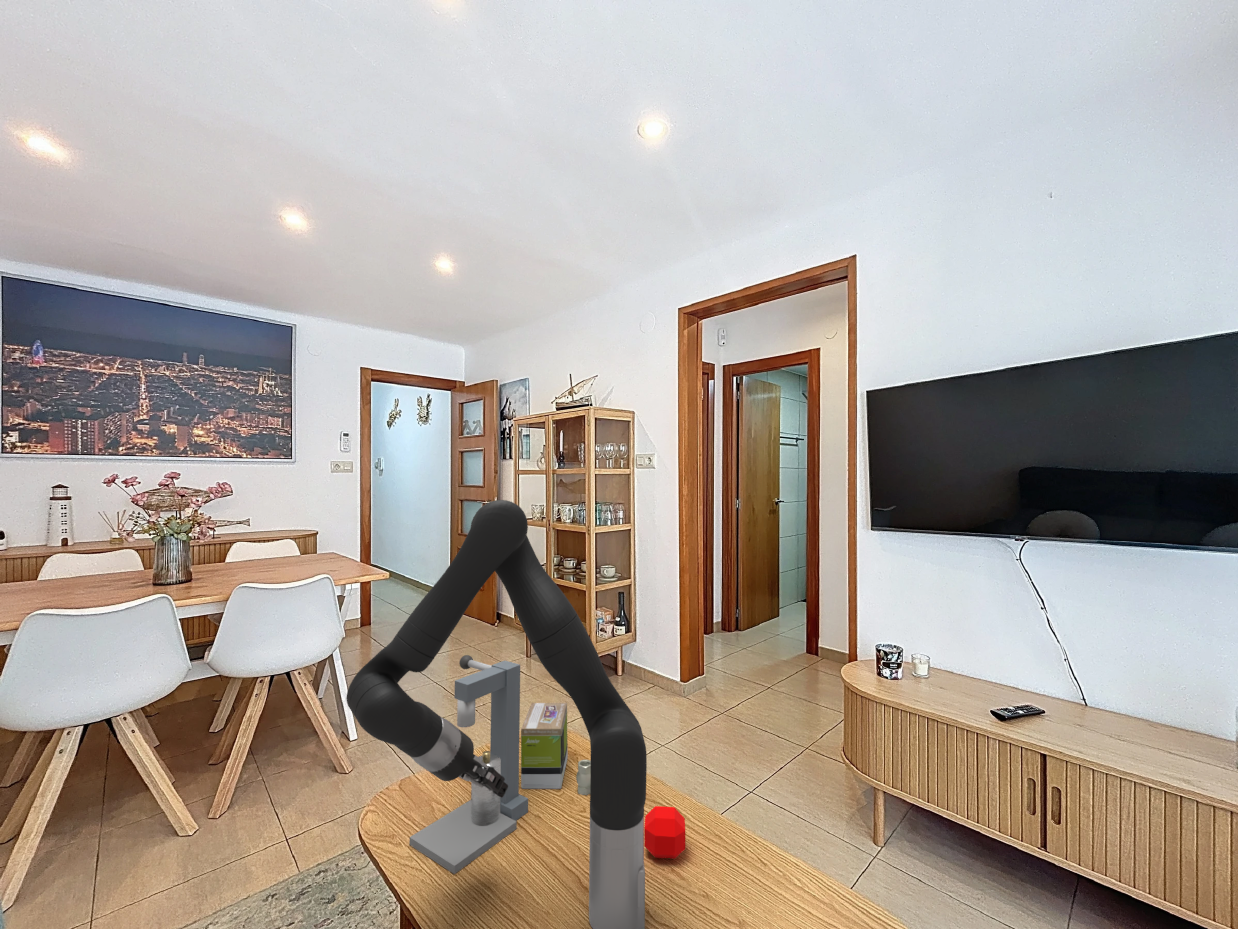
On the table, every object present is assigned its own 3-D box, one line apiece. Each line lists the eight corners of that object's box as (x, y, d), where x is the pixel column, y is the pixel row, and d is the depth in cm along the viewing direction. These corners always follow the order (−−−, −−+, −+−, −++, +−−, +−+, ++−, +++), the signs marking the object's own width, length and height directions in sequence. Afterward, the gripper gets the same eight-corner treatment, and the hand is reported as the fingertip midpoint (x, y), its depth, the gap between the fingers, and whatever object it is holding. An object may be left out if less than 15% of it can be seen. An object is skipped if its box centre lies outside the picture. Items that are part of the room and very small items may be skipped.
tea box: (530, 757, 142) (531, 701, 142) (568, 757, 142) (568, 701, 142) (519, 790, 127) (520, 727, 127) (561, 790, 127) (562, 727, 127)
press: (454, 874, 99) (457, 700, 100) (386, 829, 112) (389, 675, 113) (534, 815, 117) (536, 668, 118) (468, 782, 129) (470, 649, 131)
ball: (684, 839, 109) (684, 801, 110) (685, 867, 101) (685, 826, 102) (645, 837, 110) (645, 799, 110) (643, 864, 102) (644, 824, 102)
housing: (502, 808, 100) (503, 745, 101) (497, 826, 95) (497, 760, 96) (474, 808, 100) (475, 746, 101) (467, 826, 95) (468, 760, 96)
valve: (570, 796, 124) (617, 809, 119) (570, 768, 124) (617, 779, 120) (583, 782, 130) (628, 794, 125) (583, 754, 130) (628, 765, 126)
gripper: (481, 736, 88) (531, 777, 98) (428, 715, 96) (479, 754, 106) (454, 784, 84) (510, 822, 93) (401, 757, 92) (456, 795, 101)
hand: (493, 786), depth 99 cm, fingers closed on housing, 5 cm apart
